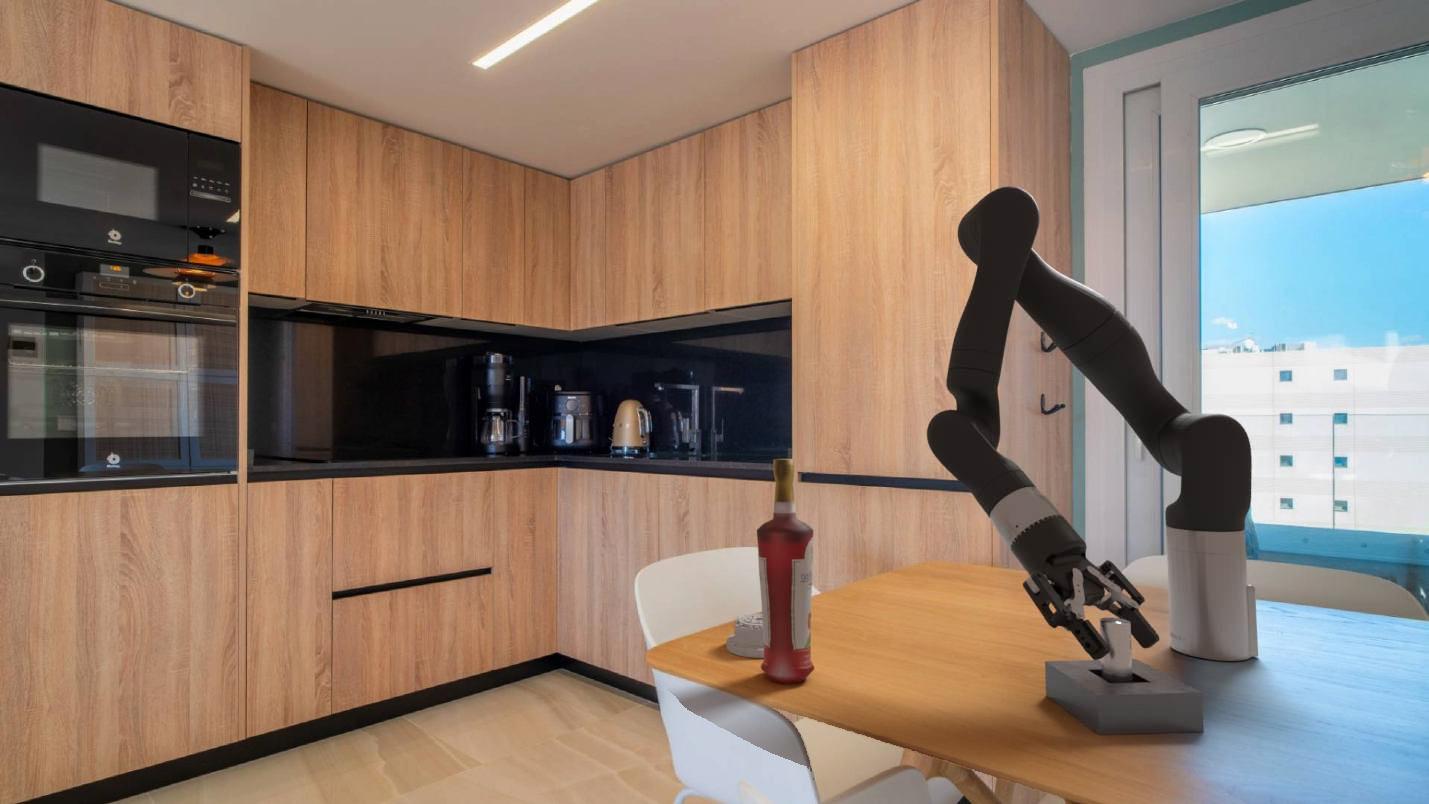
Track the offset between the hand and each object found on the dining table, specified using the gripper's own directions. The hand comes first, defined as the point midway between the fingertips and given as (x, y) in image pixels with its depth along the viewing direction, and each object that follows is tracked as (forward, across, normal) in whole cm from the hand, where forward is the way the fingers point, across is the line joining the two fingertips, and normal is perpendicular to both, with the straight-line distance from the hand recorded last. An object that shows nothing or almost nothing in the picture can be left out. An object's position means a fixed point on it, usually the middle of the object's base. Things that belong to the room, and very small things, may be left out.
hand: (1128, 650), depth 78 cm
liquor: (-15, -26, +26) cm, 39 cm away
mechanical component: (-24, -22, +35) cm, 48 cm away
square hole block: (+4, 0, +6) cm, 7 cm away
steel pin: (+4, 0, +6) cm, 7 cm away
